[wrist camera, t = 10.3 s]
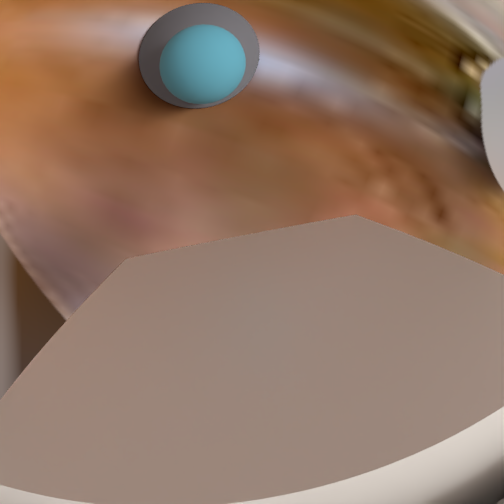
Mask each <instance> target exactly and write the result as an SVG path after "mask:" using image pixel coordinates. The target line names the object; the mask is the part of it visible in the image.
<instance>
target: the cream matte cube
mask: <svg viewBox="0 0 504 504" xmlns="http://www.w3.org/2000/svg"><path fill="white" fill-rule="evenodd" d="M503 498H504V275H503V274H501V273H499V272H496V271H494V270H492V269H490V268H488V267H485V266H483V265H481V264H479V263H476V262H474V261H472V260H469V259H467V258H465V257H462V256H460V255H458V254H455V253H453V252H451V251H448V250H446V249H443V248H441V247H439V246H436V245H434V244H431V243H429V242H426V241H424V240H421V239H419V238H416V237H414V236H411V235H409V234H406V233H404V232H401V231H398V230H396V229H393V228H391V227H388V226H385V225H383V224H380V223H377V222H374V221H372V220H369V219H366V218H364V217H361V216H358V215H351V216H346V217H340V218H334V219H329V220H323V221H318V222H312V223H307V224H301V225H296V226H291V227H285V228H280V229H274V230H269V231H264V232H258V233H253V234H248V235H243V236H237V237H232V238H227V239H222V240H217V241H212V242H207V243H201V244H196V245H191V246H186V247H181V248H176V249H171V250H166V251H161V252H156V253H152V254H147V255H142V256H137V257H132V258H127V259H125V260H124V261H123V262H122V263H121V264H120V265H119V266H118V267H117V268H116V269H115V270H114V271H113V272H112V273H111V274H110V275H109V276H108V277H107V278H106V280H105V281H104V282H103V283H102V284H101V285H100V286H99V287H98V288H97V289H96V290H95V291H94V292H93V293H92V294H91V295H90V296H89V297H88V298H87V299H86V300H85V301H84V303H83V304H82V305H81V306H80V307H79V308H78V309H77V310H76V311H75V312H74V313H73V314H72V315H71V317H70V318H69V319H68V320H67V321H66V322H65V323H64V324H63V325H62V327H61V328H60V329H59V330H58V331H57V332H56V333H55V334H54V335H53V337H52V338H51V339H50V340H49V341H48V342H47V343H46V345H45V346H44V347H43V348H42V349H41V350H40V352H39V353H38V354H37V355H36V356H35V357H34V359H33V360H32V361H31V362H30V363H29V365H28V366H27V367H26V368H25V369H24V371H23V372H22V373H21V374H20V376H19V377H18V378H17V379H16V380H15V382H14V383H13V384H12V386H11V387H10V388H9V389H8V391H7V392H6V393H5V394H4V396H3V397H2V398H1V400H0V504H496V503H497V502H499V501H500V500H501V499H503Z"/></svg>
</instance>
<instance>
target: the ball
mask: <svg viewBox="0 0 504 504" xmlns="http://www.w3.org/2000/svg"><path fill="white" fill-rule="evenodd" d="M245 67H246V58H245V53H244V50H243V48H242V46H241V44H240V42H239V41H238V39H237V38H236V37H235V36H234V35H233V34H231V33H230V32H229V31H227V30H225V29H223V28H221V27H218V26H214V25H205V24H202V25H195V26H191V27H188V28H186V29H183V30H181V31H180V32H178V33H177V34H176V35H174V36H173V37H172V38H171V39H170V40H169V41H168V43H167V44H166V46H165V47H164V49H163V51H162V54H161V58H160V75H161V78H162V81H163V83H164V84H165V86H166V88H167V89H168V90H169V91H170V92H171V93H172V94H173V95H174V96H176V97H177V98H179V99H181V100H183V101H185V102H188V103H193V104H208V103H213V102H216V101H219V100H221V99H223V98H225V97H226V96H228V95H229V94H230V93H232V92H233V91H234V90H235V89H236V88H237V86H238V85H239V83H240V82H241V80H242V78H243V75H244V72H245Z"/></svg>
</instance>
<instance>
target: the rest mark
mask: <svg viewBox="0 0 504 504" xmlns="http://www.w3.org/2000/svg"><path fill="white" fill-rule="evenodd" d="M202 24H205V25H214V26H218V27H221V28H223V29H225V30H227V31H229V32H230V33H231V34H233V35H234V36H235V37H236V38H237V39H238V41H239V42H240V44H241V46H242V48H243V50H244V53H245V58H246V67H245V72H244V75H243V78H242V80H241V82H240V83H239V85H238V86H237V88H236V89H235V90H234V91H233V92H232V93H230V94H229V95H228V96H226V97H225V98H223V99H221V100H219V101H216V102H213V103H208V104H193V103H188V102H185V101H183V100H181V99H179V98H177V97H176V96H174V95H173V94H172V93H171V92H170V91H169V90H168V89H167V88H166V86H165V84H164V83H163V81H162V78H161V75H160V58H161V54H162V51H163V49H164V47H165V46H166V44H167V43H168V41H169V40H170V39H171V38H172V37H173V36H174V35H176V34H177V33H178V32H180V31H181V30H183V29H186V28H188V27H191V26H195V25H202ZM258 61H259V43H258V39H257V36H256V34H255V32H254V30H253V28H252V27H251V25H250V24H249V23H248V22H247V21H246V20H245V19H244V18H243V17H242V16H241V15H239V14H238V13H237V12H235V11H233V10H231V9H229V8H227V7H224V6H221V5H217V4H210V3H196V4H189V5H185V6H182V7H179V8H176V9H174V10H172V11H170V12H168V13H167V14H165V15H164V16H162V17H161V18H160V19H158V20H157V21H156V22H155V23H154V24H153V25H152V27H151V28H150V29H149V30H148V32H147V33H146V35H145V37H144V39H143V41H142V44H141V47H140V53H139V66H140V71H141V74H142V77H143V79H144V81H145V83H146V84H147V86H148V87H149V88H150V89H151V90H152V92H153V93H154V94H156V95H157V96H158V97H159V98H161V99H162V100H164V101H166V102H168V103H170V104H173V105H176V106H179V107H184V108H206V107H211V106H215V105H218V104H221V103H223V102H225V101H227V100H229V99H231V98H232V97H234V96H236V95H237V94H238V93H239V92H241V91H242V90H243V89H244V88H245V87H246V86H247V84H248V83H249V82H250V80H251V79H252V77H253V75H254V73H255V71H256V68H257V65H258Z"/></svg>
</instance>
